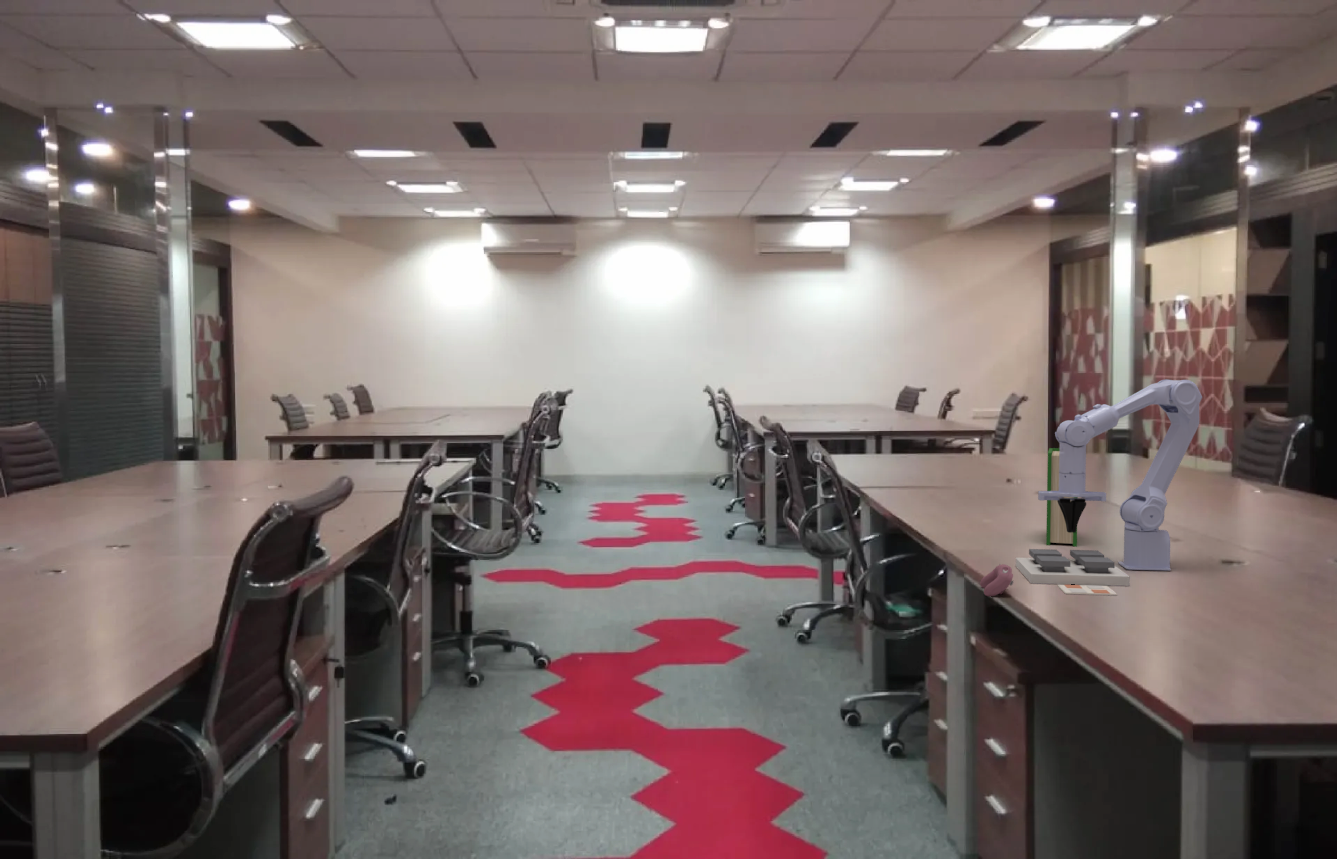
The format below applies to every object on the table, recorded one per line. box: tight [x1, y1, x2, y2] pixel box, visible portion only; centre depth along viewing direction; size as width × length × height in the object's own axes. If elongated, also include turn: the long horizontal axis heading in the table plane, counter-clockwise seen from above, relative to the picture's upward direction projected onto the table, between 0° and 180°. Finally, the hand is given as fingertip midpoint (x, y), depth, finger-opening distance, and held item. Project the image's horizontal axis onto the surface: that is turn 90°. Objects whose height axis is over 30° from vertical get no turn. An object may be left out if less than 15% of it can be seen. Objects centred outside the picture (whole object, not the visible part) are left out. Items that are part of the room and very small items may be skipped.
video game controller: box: [979, 563, 1015, 597], centre depth 218 cm, size 10×5×7 cm, turn 169°
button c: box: [1079, 556, 1116, 573], centre depth 229 cm, size 6×6×3 cm
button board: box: [1015, 557, 1131, 587], centre depth 235 cm, size 20×20×2 cm
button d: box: [1036, 556, 1071, 572], centre depth 231 cm, size 6×6×3 cm
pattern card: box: [1056, 584, 1118, 596], centre depth 219 cm, size 10×8×1 cm
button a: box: [1069, 549, 1105, 565], centre depth 238 cm, size 6×6×3 cm
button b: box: [1028, 548, 1063, 564], centre depth 240 cm, size 6×6×3 cm
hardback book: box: [1045, 447, 1079, 548], centre depth 281 cm, size 18×7×24 cm, turn 159°
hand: (1071, 531), depth 243 cm, fingers closed
